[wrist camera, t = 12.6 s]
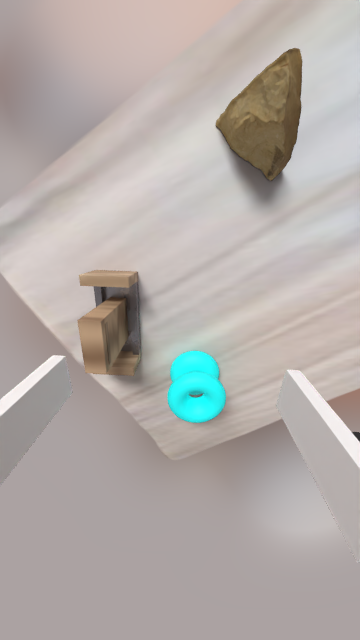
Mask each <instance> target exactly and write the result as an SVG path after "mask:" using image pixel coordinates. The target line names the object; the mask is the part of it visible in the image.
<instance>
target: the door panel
mask: <svg viewBox="0 0 360 640" xmlns="http://www.w3.org/2000/svg"><path fill="white" fill-rule="evenodd" d="M78 327H79V333H80V340H81V346H82V352H83V359H84V365H85V371H86V373H99V374H107V372H108V371H109V369H110V367H111V366H112V364H113V362H114V361H115V359H116V357H117V356H118V354H119V352H120V351H121V349H122V347H123V346H124V344H125V342H126V341H127V339H128V337H129V334H128V318H127V302H126V298H116V297H110V298H108V299H107V300H106V301H104V302H103V303H101V304H100V305H99V306H97V307H96V308H94V309H93V310H92V311H90V312H89V313H87V314H86V315H85V316H83V317H82V318H80V319H79V320H78Z"/></svg>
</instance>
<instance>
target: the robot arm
mask: <svg viewBox="0 0 360 640" xmlns="http://www.w3.org/2000/svg"><path fill="white" fill-rule="evenodd" d="M71 394H72V387H71V382H70V376H69V372H68V366H67V362H66V357H65V356H55V355H53V356H52V357H51V358H49V359H48V360H47V361H46V362H44V363H43V364H42V365H41V366H40V367H38V368H37V369H36V370H35V371H34V372H32V373H31V374H30V375H29V376H28V377H27V378H25V379H24V380H23V381H22V382H21V383H20V384H18V385H17V386H16V387H15V388H13V389H12V390H11V391H10V392H9V393H8V394H6V395H5V396H4V397H3V398H2V399H0V486H1V484H2V483H3V482H4V481H5V479H6V478H7V477H8V475H9V474H10V473H11V471H12V470H13V469H14V468H15V466H16V465H17V464H18V462H19V461H20V460H21V458H22V457H23V456H24V455H25V453H26V452H27V451H28V450H29V448H30V447H31V446H32V444H33V443H34V442H35V440H36V439H37V438H38V436H39V435H40V434H41V433H42V431H43V430H44V429H45V428H46V426H47V425H48V423H49V422H50V421H51V420H52V419H53V417H54V416H55V415H56V413H57V412H58V411H59V409H60V408H61V407H62V406H63V404H64V403H65V402H66V400H67V399H68V398H69V397H70V395H71ZM276 407H277V409H278V411H279V413H280V415H281V417H282V419H283V421H284V422H285V424H286V426H287V428H288V430H289V432H290V434H291V436H292V438H293V440H294V442H295V444H296V446H297V448H298V450H299V451H300V453H301V455H302V457H303V459H304V461H305V463H306V465H307V467H308V469H309V471H310V473H311V474H312V476H313V479H314V480H315V482H316V484H317V486H318V488H319V490H320V492H321V494H322V496H323V498H324V500H325V502H326V504H327V506H328V508H329V509H330V511H331V513H332V515H333V517H334V519H335V521H336V522H337V525H338V527H339V529H340V531H341V533H342V535H343V537H344V538H345V540H346V542H347V544H348V546H349V548H350V550H351V552H352V554H353V556H354V558H355V560H356V562H360V433H359V432H351V431H350V430H349V429H348V427H347V426H346V425H345V424H344V423H343V422H342V420H341V419H340V418H339V417H338V416H337V414H336V413H335V412H334V411H333V410H332V409H331V408H330V406H329V405H328V404H327V402H326V401H325V400H324V399H323V398H322V397H321V395H320V394H319V393H318V392H317V391H316V389H315V388H314V387H313V386H312V385H311V383H310V382H309V381H308V380H307V379H306V377H305V376H304V375H303V374H302V373H301V372H300V370H286V372H285V376H284V379H283V383H282V386H281V390H280V393H279V397H278V400H277V404H276Z"/></svg>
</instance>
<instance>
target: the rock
mask: <svg viewBox="0 0 360 640" xmlns="http://www.w3.org/2000/svg"><path fill="white" fill-rule="evenodd" d="M301 83H302V58H301V53H300V49H297V48H293V49H289V50H288V51H286V52H285V53H283V54H282V55H281V56H280V57H279V58H278V59H277V60H275V61H274V62H273V63H272V64H270V65H269V66H267V67H266V68H265V69H264V71H262V72H261V73H260V74H259V75H257V76H256V77H255V78H254V79H253V80H252V82H251V83H250V84H249V85H248V86H247V87H246V88H244V90H243V91H242V92H241V93H240V94H238V96H237V97H235V98H234V99H233V100H232V101H231V102H230V104H229V105H228V107H227V108H226V110H225V112H224V113H222V114H221V115H220V117H219V119H217V121H216V126H217V127H218V128H219V129H220V130H221V131H222V133H223V135H224V136H225V138H226V141H227V143H228V144H229V145H230V148H231V149H232V150H234V151H235V152H236V153H237V154H238V156H240V157H242V158H243V159H244V160H246V161H249V162H250V163H251V164H252V165H253V166H254V167H256V168H259V169H261V170H262V172H263V173H264V175H265V176H266V178H267V179H269V180H271V181H272V180H273V179H274V178H275V177H276V176H277V175H278V174H279V173H280V172H281V171H282V170H283V169H284V168H285V166H286V165H287V163H288V162H289V160H290V158H291V155H292V151H293V147H294V145H295V143H296V140H297V132H298V126H299V119H300V114H301V101H300V96H301Z"/></svg>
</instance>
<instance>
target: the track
mask: <svg viewBox="0 0 360 640" xmlns="http://www.w3.org/2000/svg"><path fill="white" fill-rule="evenodd" d="M94 292H95V301H96V307H97V306H99V305H100V304H101V303H103V302H104V301H106V300H107V299H108V298H110V297H116V298H126V302H127V318H128V334H129V337H128V339H127V341H126V342H125V344H124V346H123V347H122V349H121V351H131V352H133V355H139V353H140V327H139V302H138V281H137V282H136V283H134V284H133V285H132V286H130V287H129V288H126V287H101V286H94Z"/></svg>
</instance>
